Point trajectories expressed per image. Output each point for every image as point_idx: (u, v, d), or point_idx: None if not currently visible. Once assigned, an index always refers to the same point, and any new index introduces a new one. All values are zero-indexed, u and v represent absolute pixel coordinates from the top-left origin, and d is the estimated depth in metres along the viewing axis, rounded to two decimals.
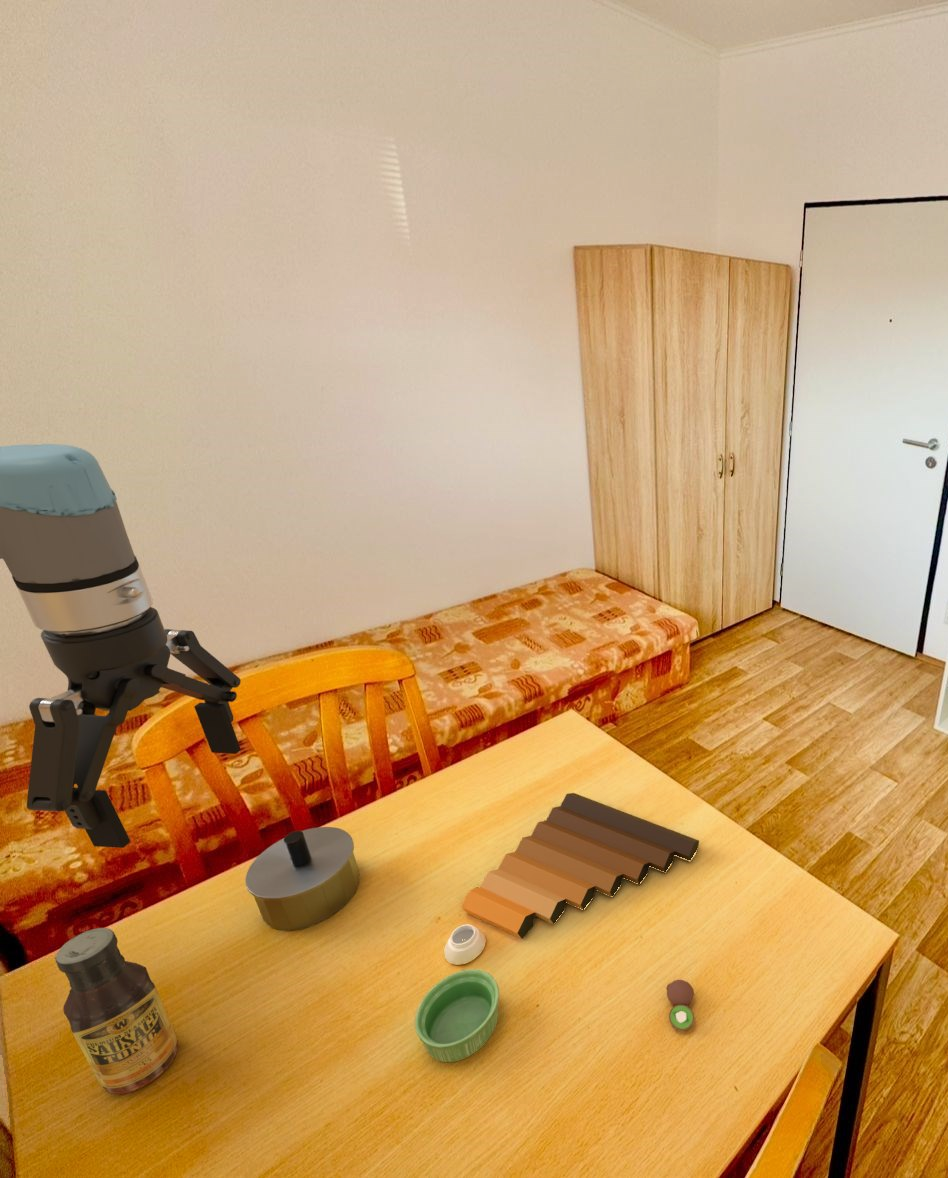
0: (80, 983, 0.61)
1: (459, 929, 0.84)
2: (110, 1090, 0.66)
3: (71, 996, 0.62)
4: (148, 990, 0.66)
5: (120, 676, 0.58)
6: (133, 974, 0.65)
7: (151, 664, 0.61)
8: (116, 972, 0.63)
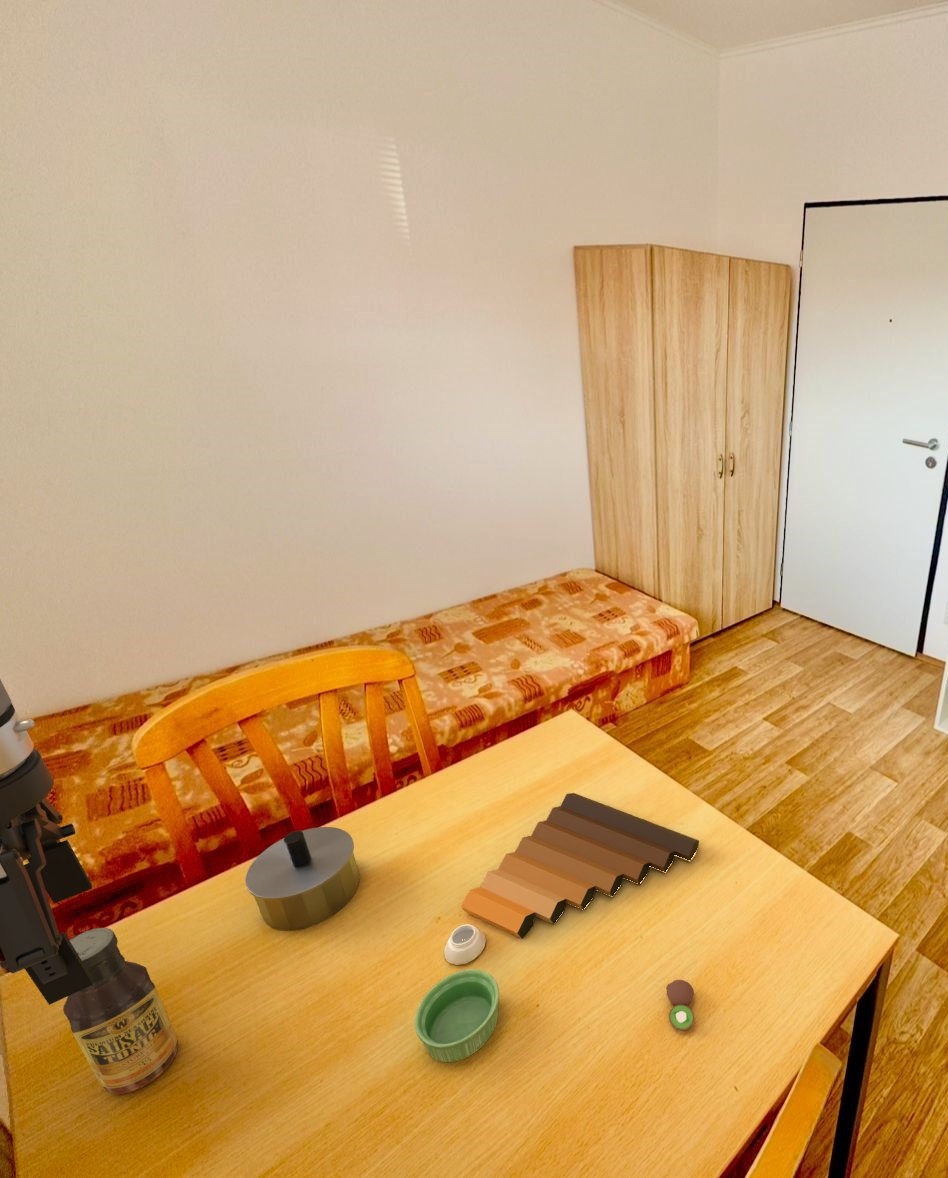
0: None
1: (459, 929, 0.84)
2: (110, 1090, 0.66)
3: (71, 996, 0.62)
4: (148, 990, 0.66)
5: (18, 822, 0.54)
6: (133, 974, 0.65)
7: None
8: (116, 972, 0.63)
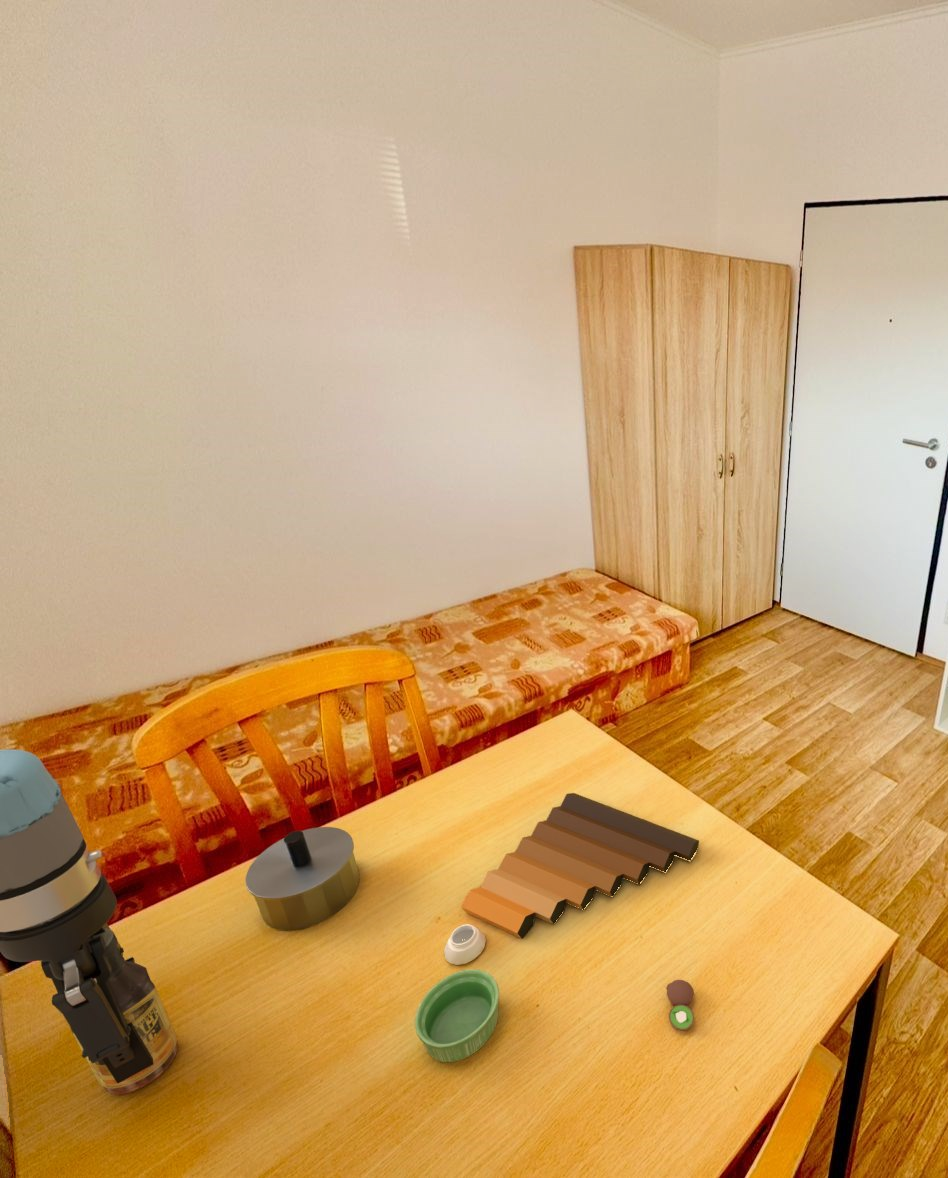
0: None
1: (459, 929, 0.84)
2: (110, 1090, 0.66)
3: None
4: (148, 990, 0.66)
5: (86, 940, 0.60)
6: (133, 974, 0.65)
7: None
8: (116, 972, 0.63)
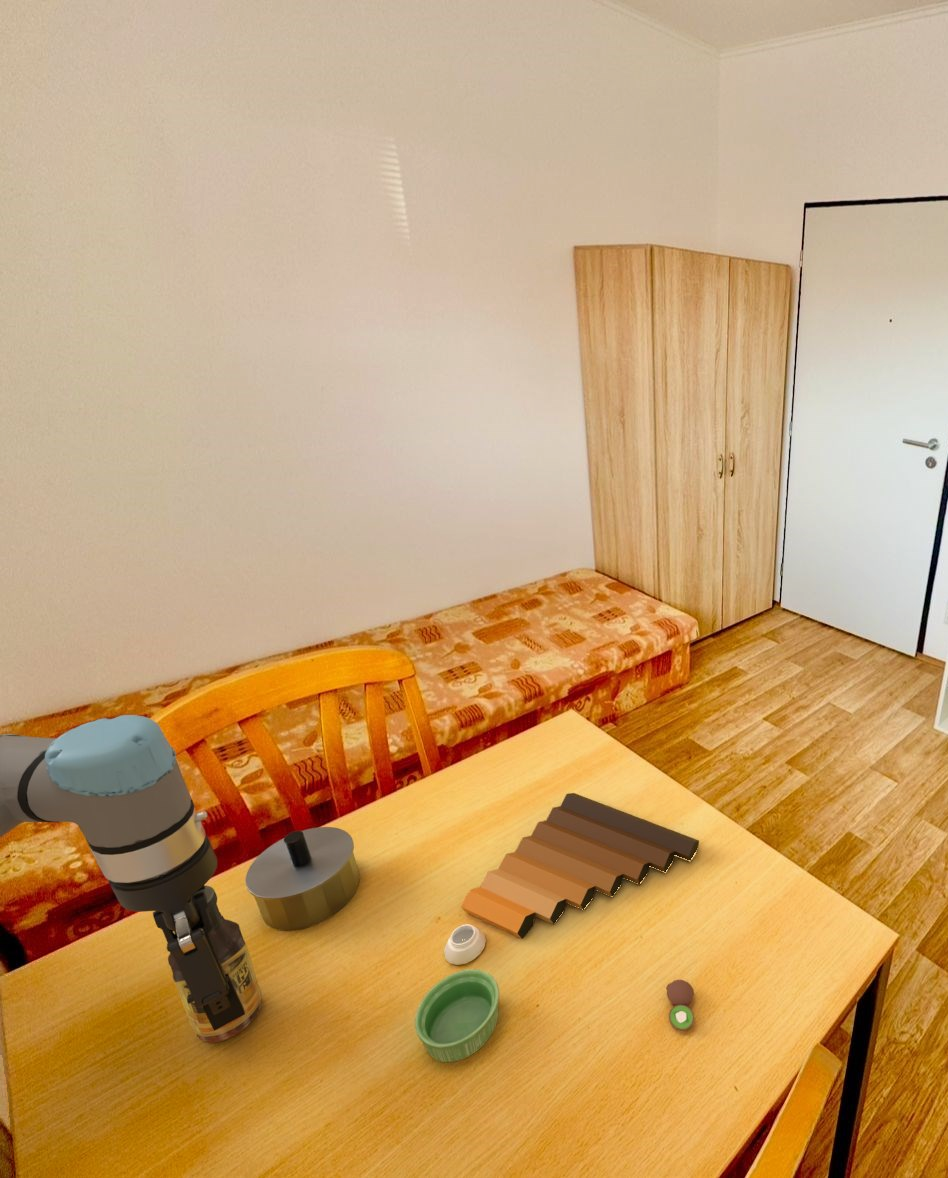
0: None
1: (459, 929, 0.84)
2: (204, 1038, 0.71)
3: None
4: (241, 945, 0.71)
5: (191, 895, 0.65)
6: (229, 929, 0.70)
7: None
8: (216, 926, 0.68)
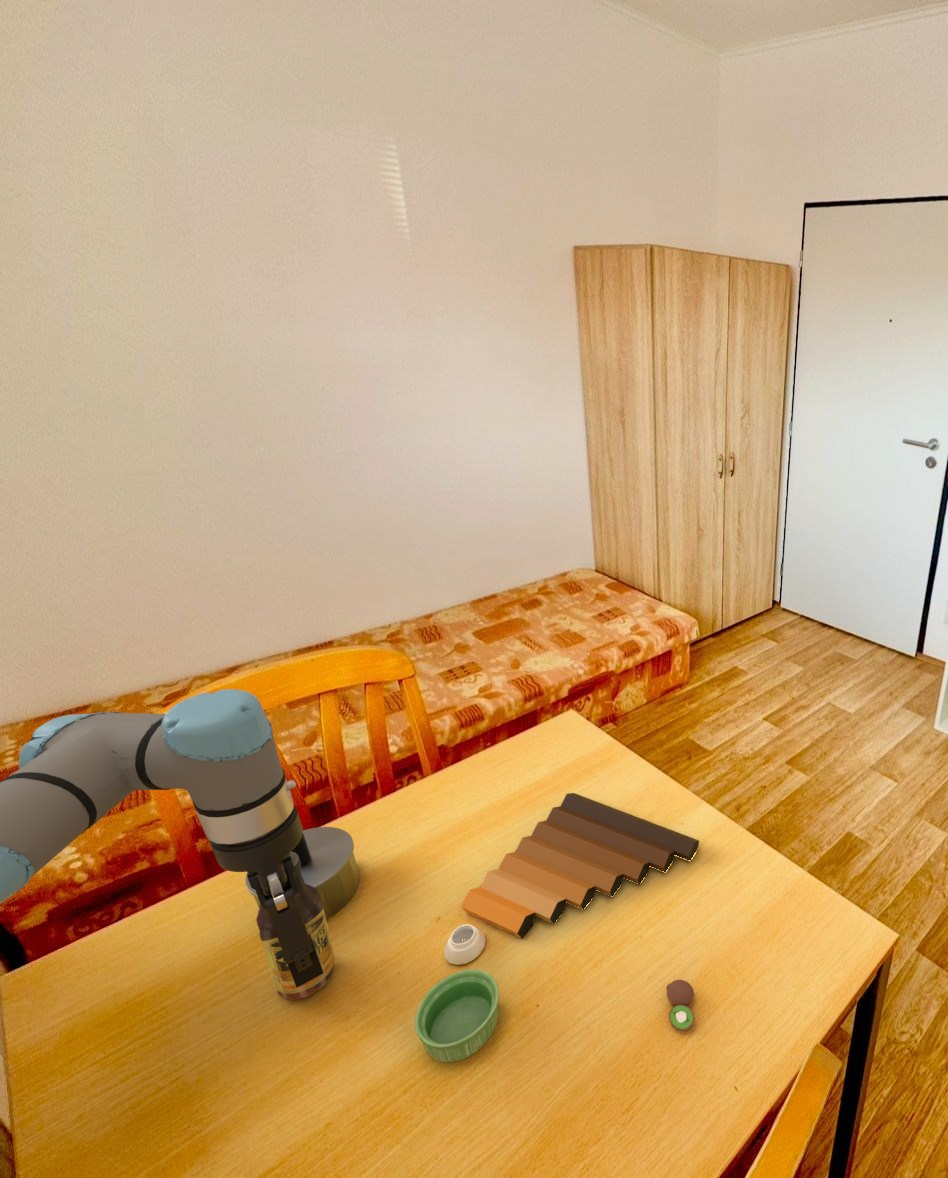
0: None
1: (459, 929, 0.84)
2: (285, 996, 0.76)
3: None
4: (320, 908, 0.76)
5: None
6: (310, 893, 0.75)
7: None
8: (300, 889, 0.73)
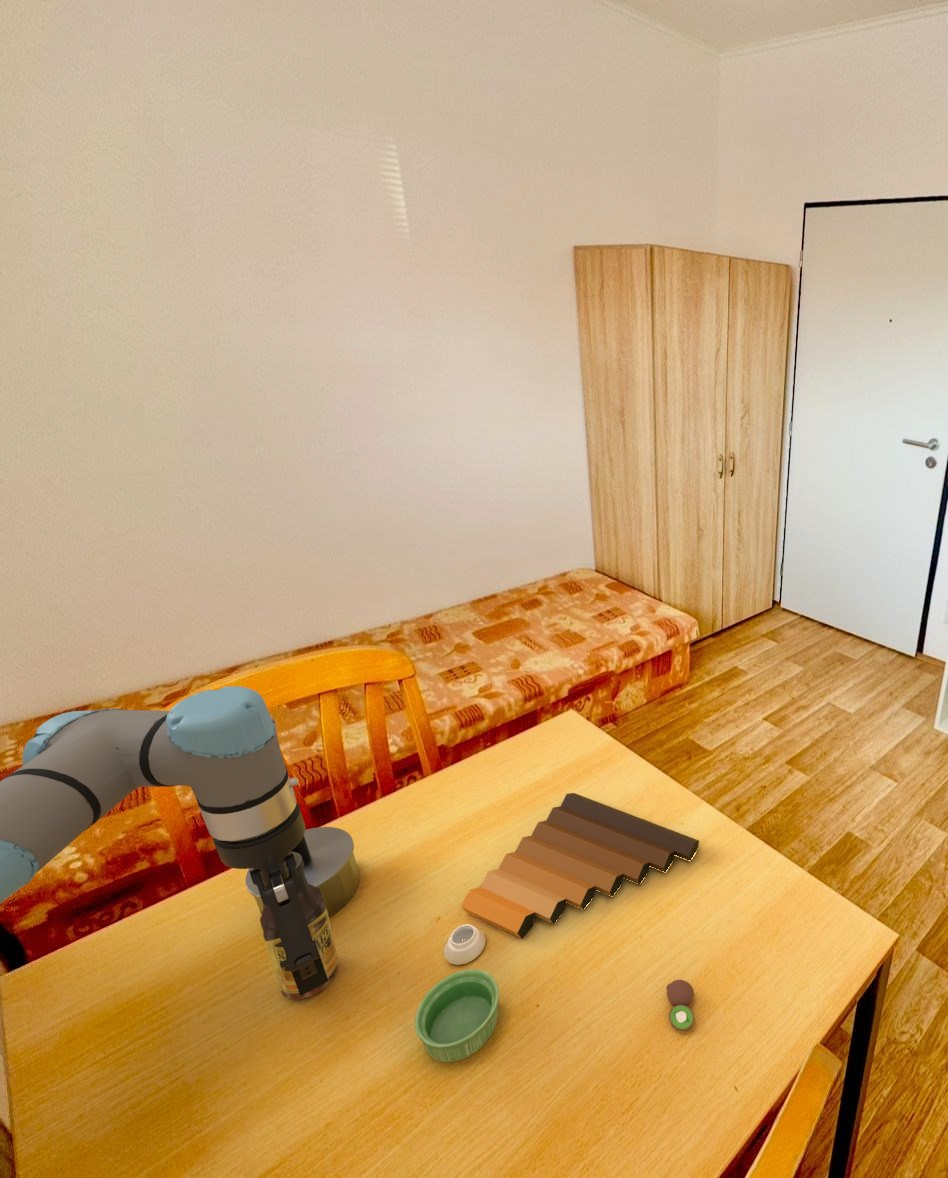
0: None
1: (459, 929, 0.84)
2: (289, 995, 0.76)
3: (267, 909, 0.72)
4: (324, 908, 0.76)
5: None
6: (313, 893, 0.75)
7: None
8: (303, 890, 0.73)
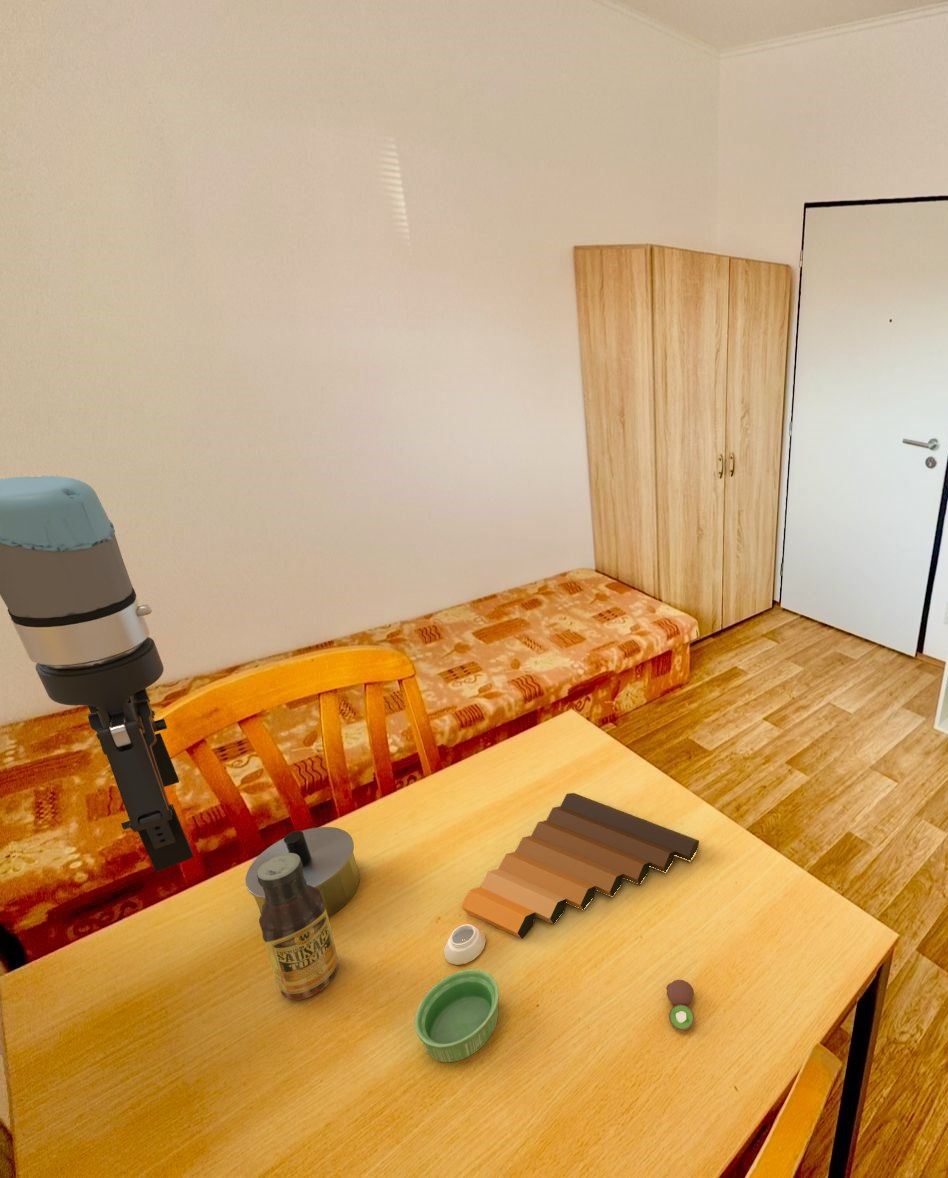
0: (276, 898, 0.71)
1: (459, 929, 0.84)
2: (289, 996, 0.76)
3: (266, 910, 0.72)
4: (323, 909, 0.76)
5: (133, 701, 0.59)
6: (312, 894, 0.75)
7: None
8: (302, 891, 0.73)
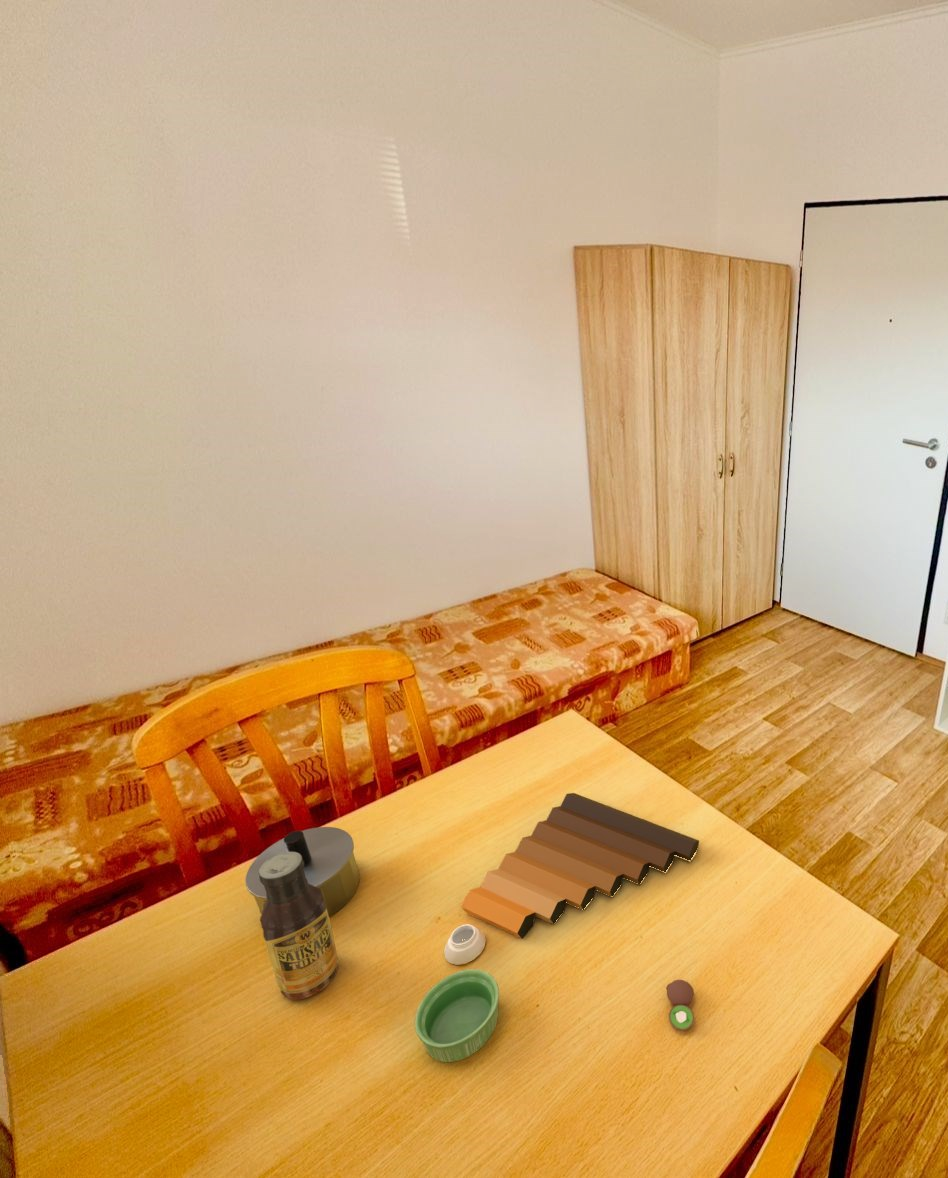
0: (277, 897, 0.71)
1: (459, 929, 0.84)
2: (289, 995, 0.76)
3: (267, 908, 0.72)
4: (324, 908, 0.76)
5: None
6: (313, 893, 0.75)
7: None
8: (303, 890, 0.73)
